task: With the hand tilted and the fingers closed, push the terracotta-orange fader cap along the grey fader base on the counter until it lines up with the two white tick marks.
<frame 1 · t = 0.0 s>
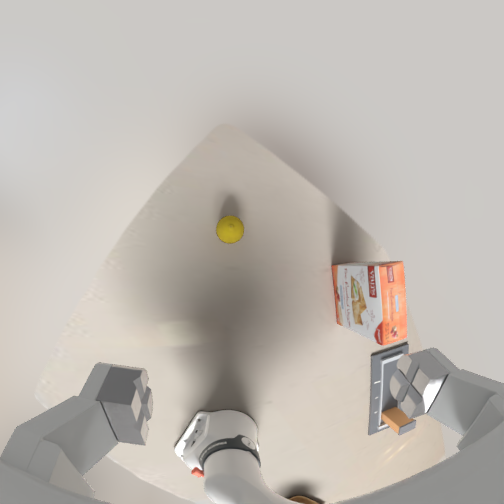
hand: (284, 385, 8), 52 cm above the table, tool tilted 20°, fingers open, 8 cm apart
cracker box: (343, 293, 62), on the table
fader cap: (397, 420, 56), point 6 cm above the table, slide at -7.0 cm
lemon: (229, 232, 60), on the table
grey fader base: (388, 391, 63), on the table
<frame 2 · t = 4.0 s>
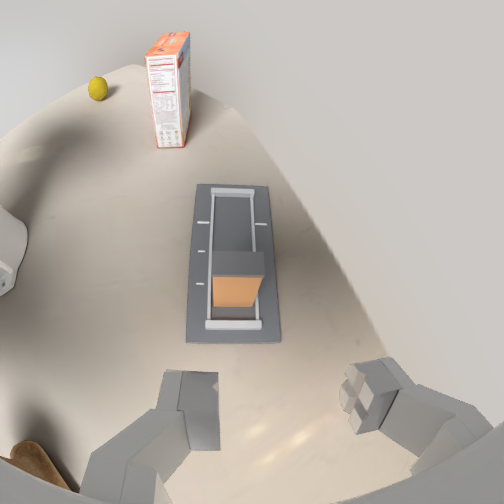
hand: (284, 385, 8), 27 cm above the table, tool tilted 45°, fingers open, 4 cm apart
cracker box: (174, 129, 54), on the table
fader cap: (235, 283, 32), point 6 cm above the table, slide at -7.0 cm
lemon: (100, 101, 60), on the table
grey fader base: (232, 254, 41), on the table
tan ugg boot: (47, 487, 19), on the table
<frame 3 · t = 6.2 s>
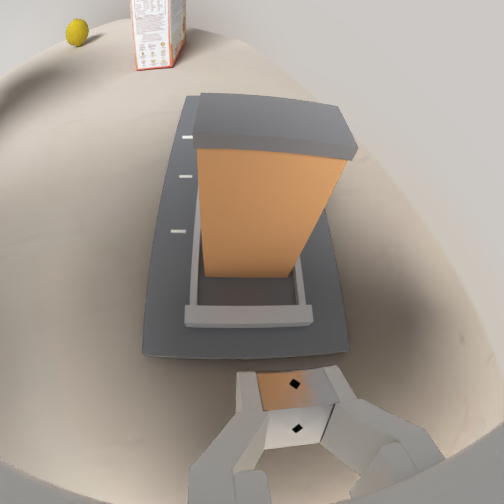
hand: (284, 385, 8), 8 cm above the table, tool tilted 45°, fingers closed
cracker box: (162, 55, 35), on the table
fader cap: (256, 208, 13), point 6 cm above the table, slide at -7.0 cm
lemon: (79, 47, 40), on the table
grey fader base: (242, 185, 22), on the table
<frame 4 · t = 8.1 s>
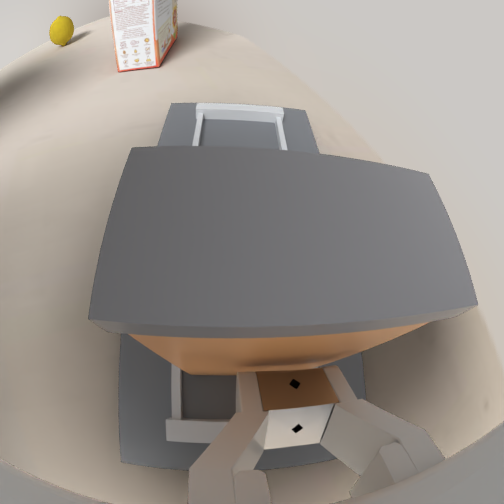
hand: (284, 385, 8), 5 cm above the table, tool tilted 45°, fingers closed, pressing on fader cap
cracker box: (150, 53, 30), on the table
fader cap: (260, 324, 8), point 6 cm above the table, slide at -7.0 cm, touching gripper
lemon: (64, 46, 35), on the table
grey fader base: (239, 232, 17), on the table
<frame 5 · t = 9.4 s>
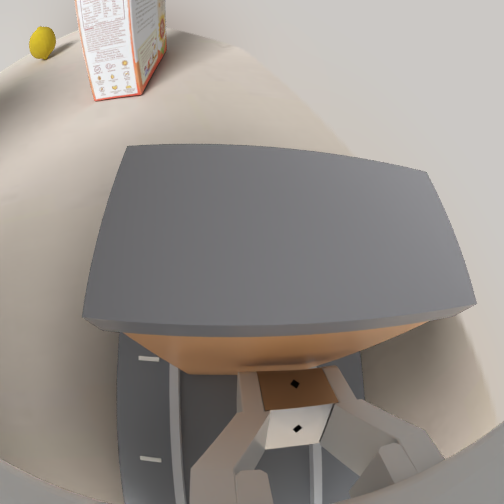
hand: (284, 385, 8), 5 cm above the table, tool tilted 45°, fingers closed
cracker box: (133, 74, 26), on the table
fader cap: (257, 323, 8), point 6 cm above the table, slide at 0.6 cm, touching gripper
lemon: (46, 60, 31), on the table
grey fader base: (241, 363, 13), on the table
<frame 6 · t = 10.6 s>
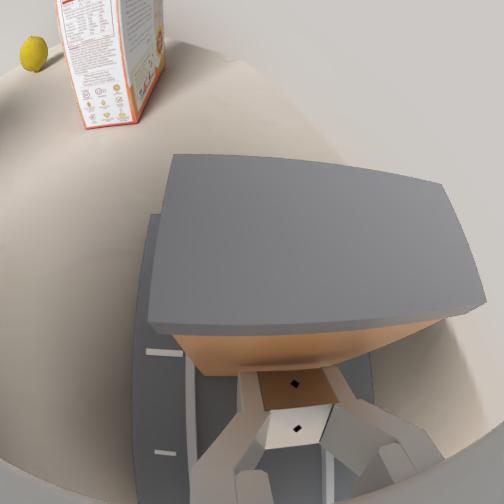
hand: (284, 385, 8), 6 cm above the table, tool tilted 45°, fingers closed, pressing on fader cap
cracker box: (128, 94, 24), on the table
fader cap: (279, 324, 8), point 6 cm above the table, slide at 5.2 cm, touching gripper
lemon: (38, 72, 30), on the table
grey fader base: (258, 450, 11), on the table
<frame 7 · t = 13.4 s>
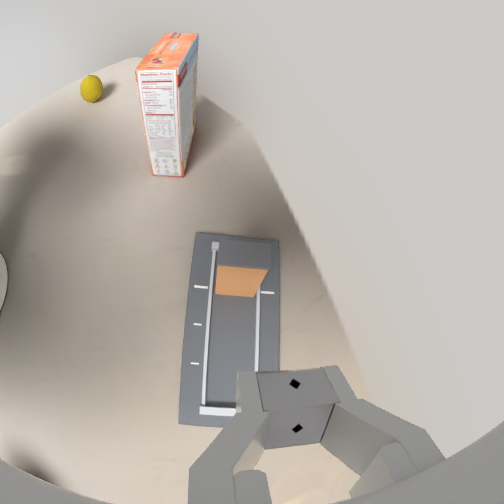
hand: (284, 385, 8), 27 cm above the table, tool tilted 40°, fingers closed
cracker box: (174, 150, 47), on the table
fader cap: (239, 272, 32), point 6 cm above the table, slide at 5.4 cm
lemon: (94, 102, 52), on the table
grey fader base: (232, 328, 35), on the table
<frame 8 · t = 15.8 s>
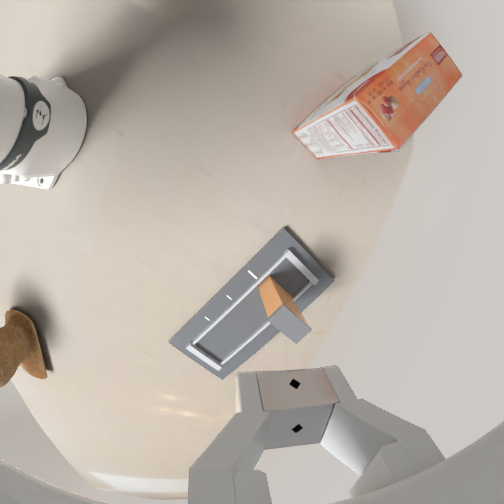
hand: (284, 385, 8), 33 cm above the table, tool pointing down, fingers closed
cracker box: (333, 116, 37), on the table
fader cap: (281, 306, 37), point 6 cm above the table, slide at 5.4 cm
grey fader base: (249, 312, 44), on the table
tan ugg boot: (25, 337, 41), on the table
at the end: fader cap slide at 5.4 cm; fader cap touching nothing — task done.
